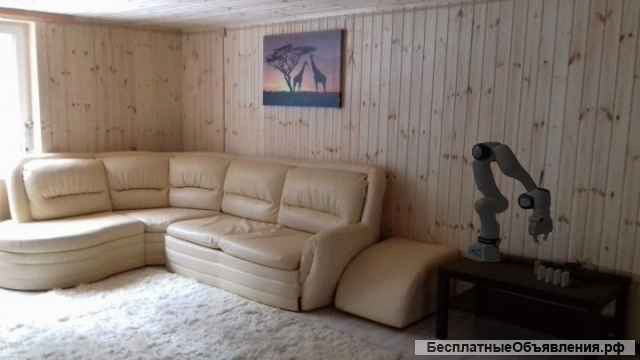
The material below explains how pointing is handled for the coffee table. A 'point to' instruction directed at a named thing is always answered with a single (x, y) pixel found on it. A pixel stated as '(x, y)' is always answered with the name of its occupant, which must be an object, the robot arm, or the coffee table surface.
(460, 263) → the coffee table surface
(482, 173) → the robot arm
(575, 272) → the box
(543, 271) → the domino
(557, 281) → the domino
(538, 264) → the domino
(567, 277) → the domino
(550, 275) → the domino
